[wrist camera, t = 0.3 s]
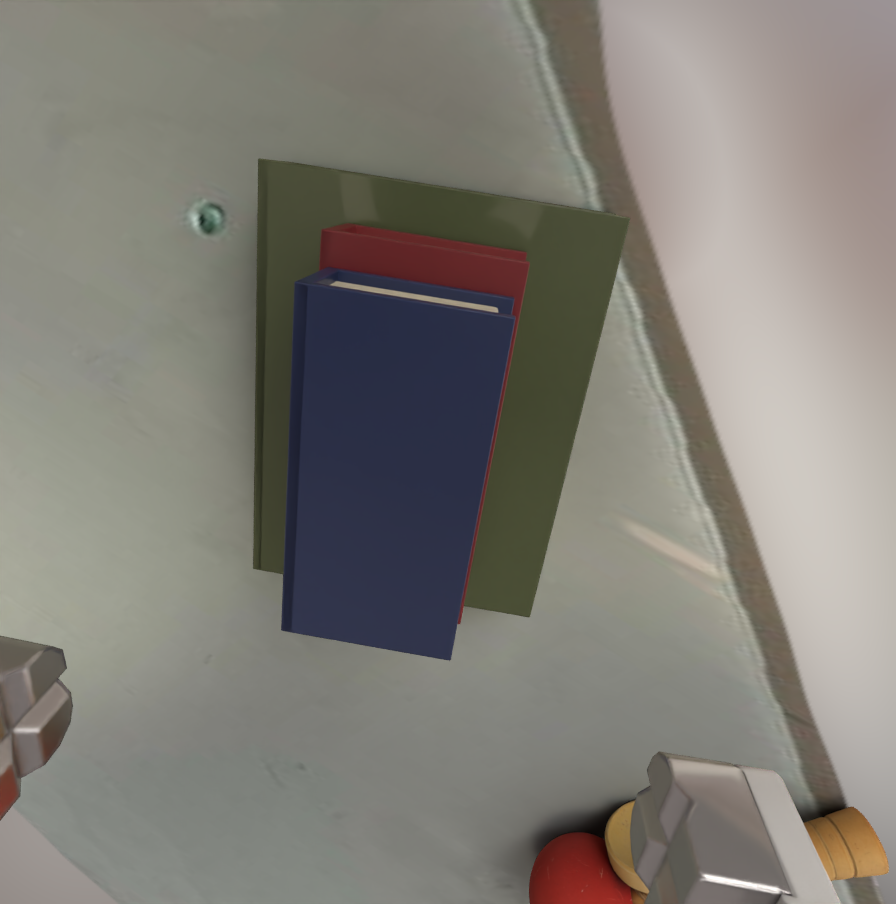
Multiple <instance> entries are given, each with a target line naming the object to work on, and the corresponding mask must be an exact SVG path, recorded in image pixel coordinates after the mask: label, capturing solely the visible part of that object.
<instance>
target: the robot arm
mask: <svg viewBox="0 0 896 904" xmlns="http://www.w3.org/2000/svg"><path fill="white" fill-rule="evenodd" d="M66 669H67V666H66V662H65V657H64V653H63V650H62V649H59V648H56V647H53V646H48V645H43V644H38V643H34V642H29V641H24V640H19V639H14V638H9V637H4V636H0V820H1V819H2V818H3V817H4V815H5V814H6V813H7V812H8V810H9V809H10V808H11V807H12V805H13V804H14V803H15V802H16V800H17V799H18V798H19V797H20V792H21V778H22V777H24V776H26V775H28V774H29V773H31V772H33V771H35V770H36V769H38V768H40V767H42V766H44V765H45V764H46V763H47V762H48V760H49V759H50V758H51V756H52V755H53V754H54V752H55V751H56V750H57V749H58V747H59V746H60V744H61V742H62V740H63V738H64V736H65V733H66V731H67V729H68V727H69V725H70V722H71V715H72V708H73V704H72V697H71V692H70V691H69V690H68V689H67V688H66V686H65V685H64V684H63V683H62V682H61V681H60V680H59V679H58V678H59V677H60V675H61V674H62V673H63V672H64V671H65V670H66ZM647 772H648V777H649V781H650V786H649V787H647V788H645V789H644V790H642V791H640V792H639V793H638V794H637V797H636V800H635V803H634V806H633V809H632V815H631V825H630V842H631V853H632V859H633V865H634V871H635V872H636V874H637V875H638V876H639V878H640V879H641V880H642V882H643V883H644V884H645V886H646V887H647V888H648V890H649V893H648V895H647V898H646V900H645V902H644V904H841V902H840V900H839V898H838V896H837V894H836V891H835V889H834V887H833V885H832V883H831V881H830V879H829V877H828V875H827V872H826V870H825V868H824V866H823V864H822V862H821V860H820V858H819V855H818V853H817V851H816V849H815V847H814V845H813V843H812V841H811V839H810V836H809V834H808V832H807V830H806V828H805V826H804V824H803V822H802V819H801V817H800V815H799V813H798V811H797V809H796V807H795V805H794V802H793V800H792V798H791V796H790V794H789V792H788V790H787V788H786V786H785V783H784V781H783V779H782V778H781V777H780V776H779V775H778V774H777V773H776V772H775V771H772V770H766V769H760V768H754V767H748V766H742V765H733V764H731V763H727V762H721V761H715V760H708V759H702V758H696V757H690V756H684V755H678V754H671V753H665V752H658V753H657V754H655V755H654V756H653V757H652V759H651V762H650V764H649V767H648V769H647Z"/></svg>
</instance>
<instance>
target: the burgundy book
mask: <svg viewBox="0 0 896 904" xmlns="http://www.w3.org/2000/svg"><path fill="white" fill-rule="evenodd" d="M526 257H527V252H523V251H517V250H511V249H505V248H499V247H492V246H486V245H480V244H474V243H468V242H461V241H455V240H449V239H443V238H437V237H430V236H424V235H418V234H412V233H406V232H399V231H393V230H387V229H381V228H375V227H368V226H362V225H356V224H350V223H346V224H342V225H338V226H334V227H329V228H324V229H321V242H320V260H319V271H320V270H322V269H325V268H326V267H332V268H339V269H345V270H351V271H357V272H363V273H369V274H375V275H381V276H388V277H394V278H400V279H406V280H412V281H418V282H424V283H430V284H437V285H443V286H449V287H455V288H461V289H467V290H473V291H479V292H486V293H492V294H498V295H504V296H510V297H514V305H513V311H512V315H514V316H515V317H516V320H515V325H514V330H513V335H512V341H511V346H510V351H509V356H508V362H507V367H506V372H505V377H504V382H503V388H502V393H501V398H500V403H499V409H498V414H497V419H496V424H495V430H494V435H493V440H492V445H491V451H490V456H489V461H488V466H487V472H486V477H485V482H484V487H483V493H482V498H481V503H480V508H479V514H478V519H477V524H476V529H475V534H474V540H473V545H472V550H471V555H470V561H469V566H468V571H467V576H466V582H465V587H464V592H463V597H462V603H461V608H460V613H459V618H458V624H460V623H461V618H462V612H463V607H464V602H465V597H466V592H467V586H468V581H469V576H470V571H471V566H472V561H473V555H474V550H475V545H476V540H477V535H478V530H479V524H480V519H481V514H482V509H483V504H484V498H485V493H486V488H487V483H488V478H489V473H490V467H491V462H492V457H493V452H494V447H495V442H496V436H497V431H498V426H499V421H500V416H501V411H502V405H503V400H504V395H505V390H506V385H507V379H508V374H509V369H510V364H511V359H512V354H513V348H514V343H515V338H516V333H517V328H518V323H519V317H520V312H521V307H522V302H523V297H524V292H525V286H526V281H527V276H528V271H529V266H530V262H529V261H526Z"/></svg>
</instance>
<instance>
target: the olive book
mask: <svg viewBox="0 0 896 904" xmlns="http://www.w3.org/2000/svg"><path fill="white" fill-rule="evenodd" d="M629 221H630V218H629V217H623V216H617V215H616V214H613V213H607V212H601V211H594V210H588V209H582V208H576V207H569V206H563V205H557V204H550V203H544V202H538V201H532V200H525V199H519V198H513V197H507V196H500V195H494V194H488V193H481V192H475V191H469V190H463V189H456V188H450V187H444V186H437V185H431V184H425V183H419V182H412V181H406V180H400V179H393V178H387V177H381V176H375V175H368V174H362V173H356V172H350V171H343V170H337V169H331V168H324V167H318V166H312V165H306V164H299V163H293V162H285V161H276V160H267V159H258V229H257V309H256V389H255V468H254V548H253V569H257V570H263V571H269V572H274V573H280V574H283V571H284V545H285V518H286V492H287V465H288V439H289V412H290V386H291V359H292V333H293V306H294V282H295V281H297V280H300V279H302V278H305V277H307V276H309V275H311V274H314V273H316V272H318V271H319V260H320V242H321V229H324V228H329V227H334V226H338V225H342V224H346V223H350V224H356V225H362V226H368V227H375V228H381V229H387V230H393V231H399V232H406V233H412V234H418V235H424V236H430V237H437V238H443V239H449V240H455V241H461V242H468V243H474V244H480V245H486V246H492V247H499V248H505V249H511V250H517V251H523V252H527V257H526V261H529V262H530V266H529V271H528V276H527V281H526V286H525V292H524V297H523V302H522V307H521V312H520V317H519V323H518V328H517V333H516V338H515V343H514V348H513V354H512V359H511V364H510V369H509V374H508V379H507V385H506V390H505V395H504V400H503V405H502V411H501V416H500V421H499V426H498V431H497V436H496V442H495V447H494V452H493V457H492V462H491V467H490V473H489V478H488V483H487V488H486V493H485V498H484V504H483V509H482V514H481V519H480V524H479V530H478V535H477V540H476V545H475V550H474V555H473V561H472V566H471V571H470V576H469V581H468V586H467V592H466V597H465V602H464V606H468V607H473V608H479V609H485V610H490V611H496V612H502V613H507V614H513V615H519V616H525V617H530V614H531V610H532V606H533V602H534V598H535V594H536V590H537V586H538V582H539V578H540V574H541V570H542V566H543V562H544V558H545V554H546V550H547V547H548V543H549V539H550V535H551V531H552V527H553V523H554V519H555V515H556V511H557V507H558V503H559V499H560V495H561V491H562V487H563V483H564V479H565V475H566V471H567V467H568V463H569V459H570V455H571V451H572V447H573V443H574V439H575V435H576V431H577V428H578V424H579V420H580V416H581V412H582V408H583V404H584V400H585V396H586V392H587V388H588V384H589V380H590V376H591V372H592V368H593V364H594V360H595V356H596V352H597V348H598V344H599V340H600V336H601V332H602V328H603V324H604V320H605V316H606V313H607V309H608V305H609V301H610V297H611V293H612V289H613V285H614V281H615V277H616V273H617V269H618V265H619V261H620V257H621V253H622V249H623V245H624V241H625V237H626V233H627V229H628V225H629Z"/></svg>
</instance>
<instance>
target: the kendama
mask: <svg viewBox="0 0 896 904" xmlns="http://www.w3.org/2000/svg"><path fill="white" fill-rule="evenodd" d="M634 803H635V800H634V801H631V802H628V803H626V804H624V805H622V806H621V807H620V808H618V809H617V810H616V811H615V812H614V813H613V814H612V816H611V817H610V819H609V820H608V823H607V825H606V829H605V840H604V839H602V838H600V837H598V836H595V835H593V834H589V833H584V832H573V833H567V834H563V835H561V836H559V837H557V838H555V839H553V840H552V841H550V842H549V843H548V844H547V845H546V846H545V847H544V848H543V849H542V850H541V852H540V853H539V855H538V856H537V858H536V860H535V862H534V865H533V868H532V872H531V876H530V883H529V899H530V904H644V902H645V900H646V898H647V895H648V893H649V890H648V888H647V887H646V886H645V884H644V883H643V882H642V880H641V879H640V878H639V876H638V875H637V874H636V872H635V871H634V865H633V859H632V853H631V842H630V825H631V815H632V809H633V806H634ZM803 824H804V826H805V828H806V830H807V832H808V834H809V836H810V839H811V841H812V843H813V845H814V847H815V849H816V851H817V853H818V855H819V858H820V860H821V862H822V864H823V866H824V868H825V870H826V872H827V875H828V877H829V879H830V881H832V880H841V879H848V878H852V877H866V876H875V875H883V874H887V873H888V871H889V869H888V868H889V866H888V860H887V857H886V854H885V851H884V849H883V846H882V844H881V842H880V840H879V839H878V837H877V835H876V833H875V831H874V830H873V828H872V826H871V825H870V824H869V822H868V821H867V819H866V818H865V817H864V816H863V815H862V813H860V812H859V811H858V810H857V809H856V808H854V807H848V808H845V809H843V810H839V811H837V812H834V813H831V814H828V815H826V816H825V817H824V818H823V817H819V818H816V819H813V820H810V821H808V822H804V823H803Z"/></svg>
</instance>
